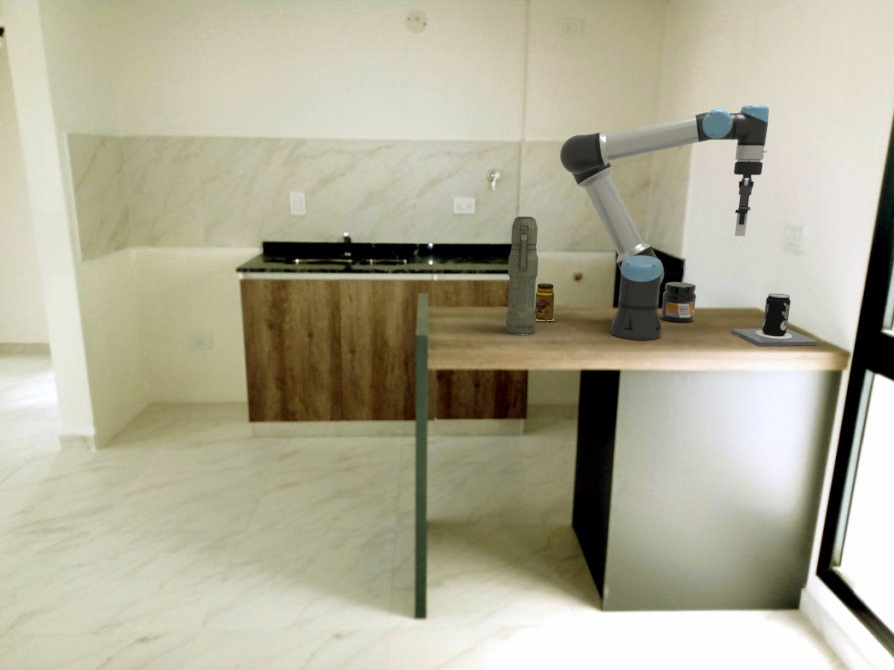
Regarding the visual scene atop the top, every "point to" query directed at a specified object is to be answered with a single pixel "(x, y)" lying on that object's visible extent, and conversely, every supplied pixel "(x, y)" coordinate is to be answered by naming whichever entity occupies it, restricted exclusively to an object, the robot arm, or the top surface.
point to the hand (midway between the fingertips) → (740, 234)
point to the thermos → (522, 276)
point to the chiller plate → (773, 338)
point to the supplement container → (678, 302)
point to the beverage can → (776, 314)
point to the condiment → (544, 302)
